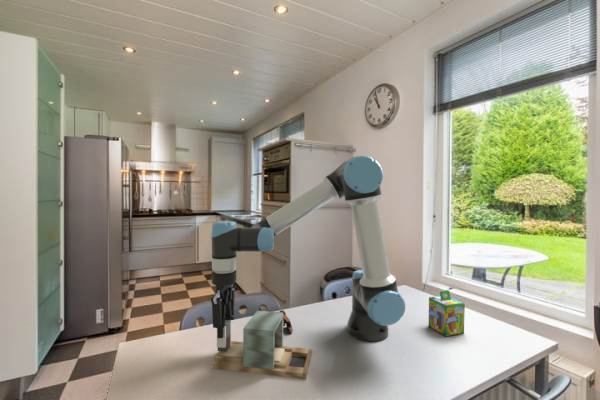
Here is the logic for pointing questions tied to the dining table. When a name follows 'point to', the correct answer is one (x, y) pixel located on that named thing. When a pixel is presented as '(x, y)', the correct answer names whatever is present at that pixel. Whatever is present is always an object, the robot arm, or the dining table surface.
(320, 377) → the dining table surface
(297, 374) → the tunnel deck
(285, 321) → the pottery mug
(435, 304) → the chalk box
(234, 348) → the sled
